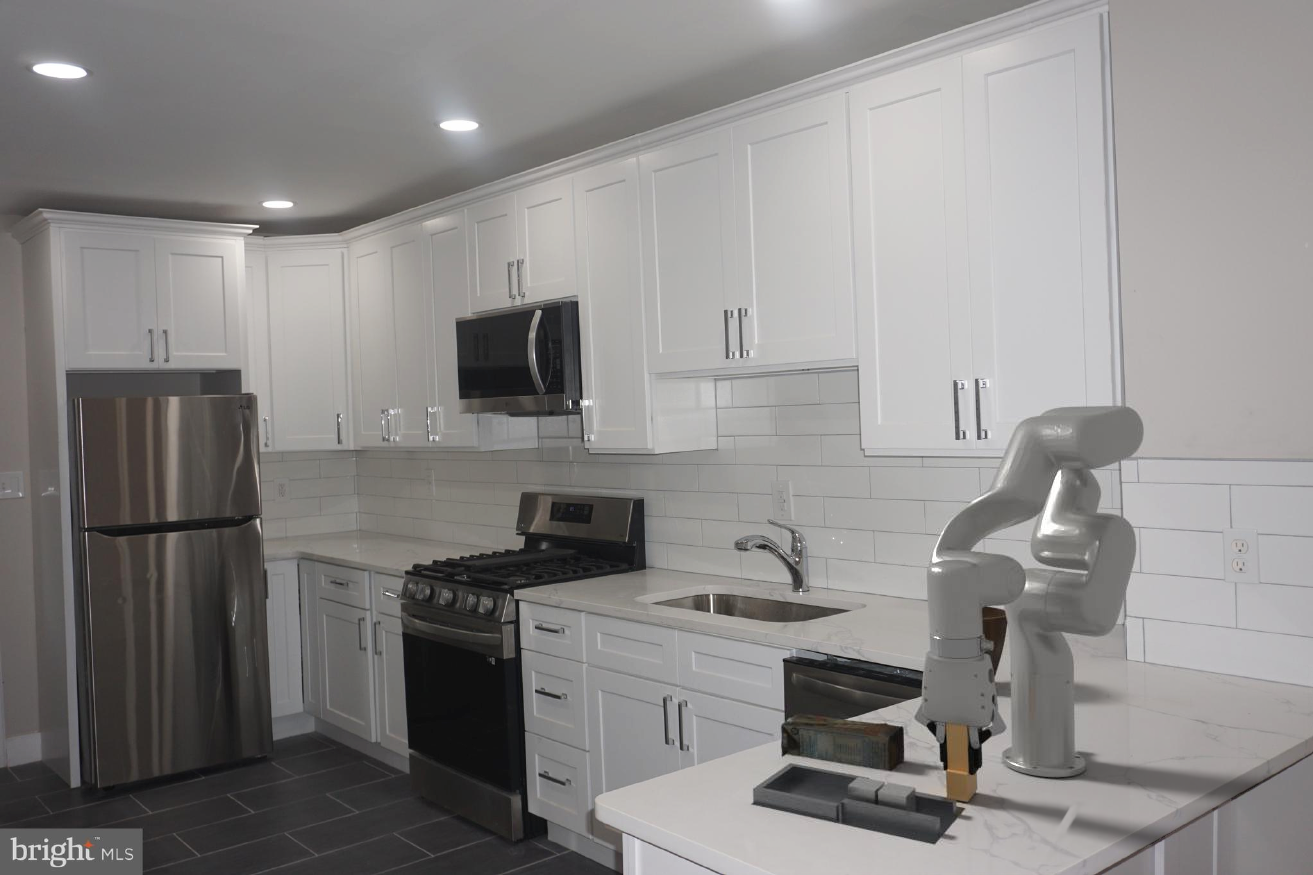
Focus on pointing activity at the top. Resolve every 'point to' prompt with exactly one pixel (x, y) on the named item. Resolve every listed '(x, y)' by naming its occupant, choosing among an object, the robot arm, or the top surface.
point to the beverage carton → (844, 741)
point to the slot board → (852, 804)
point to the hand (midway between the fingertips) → (961, 768)
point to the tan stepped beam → (959, 764)
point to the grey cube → (898, 797)
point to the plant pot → (994, 632)
